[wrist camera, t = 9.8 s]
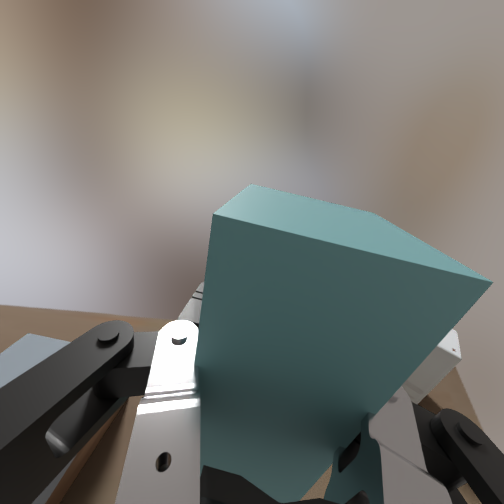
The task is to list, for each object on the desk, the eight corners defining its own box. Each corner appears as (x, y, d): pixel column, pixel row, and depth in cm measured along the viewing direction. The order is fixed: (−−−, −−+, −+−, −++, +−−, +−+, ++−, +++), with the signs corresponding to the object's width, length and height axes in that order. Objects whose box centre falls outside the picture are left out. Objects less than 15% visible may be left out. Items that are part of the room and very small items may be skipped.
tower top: (-123, 495, 14) (-163, 472, 13) (37, 356, 24) (28, 333, 22) (30, 525, 14) (13, 507, 13) (127, 375, 24) (125, 353, 23)
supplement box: (414, 381, 36) (459, 331, 31) (410, 413, 31) (464, 360, 25) (371, 352, 40) (405, 304, 35) (361, 376, 35) (399, 323, 29)
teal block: (179, 477, 9) (213, 213, 4) (214, 369, 13) (251, 183, 8) (291, 509, 9) (493, 282, 3) (287, 389, 13) (373, 213, 8)
